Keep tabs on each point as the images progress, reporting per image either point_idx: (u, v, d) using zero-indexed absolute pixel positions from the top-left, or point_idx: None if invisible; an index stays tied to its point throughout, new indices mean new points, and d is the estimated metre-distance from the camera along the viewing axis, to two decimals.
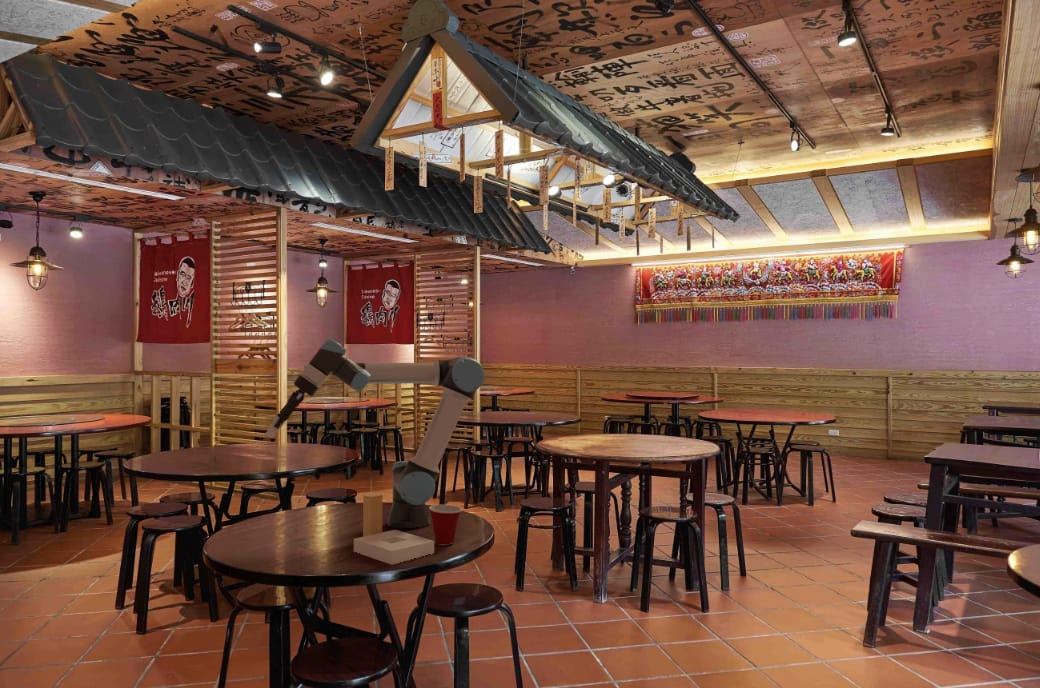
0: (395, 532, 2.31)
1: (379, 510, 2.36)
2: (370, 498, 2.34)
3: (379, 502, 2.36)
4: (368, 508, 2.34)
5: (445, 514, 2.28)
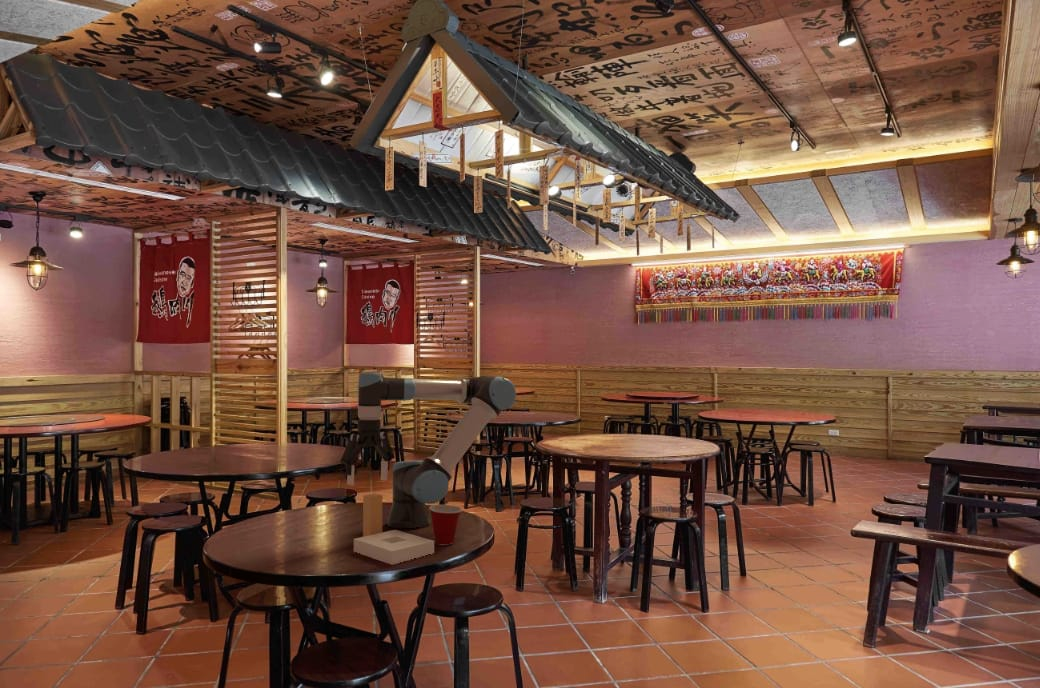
0: (395, 532, 2.31)
1: (379, 510, 2.36)
2: (370, 498, 2.34)
3: (379, 502, 2.36)
4: (368, 508, 2.34)
5: (445, 514, 2.28)
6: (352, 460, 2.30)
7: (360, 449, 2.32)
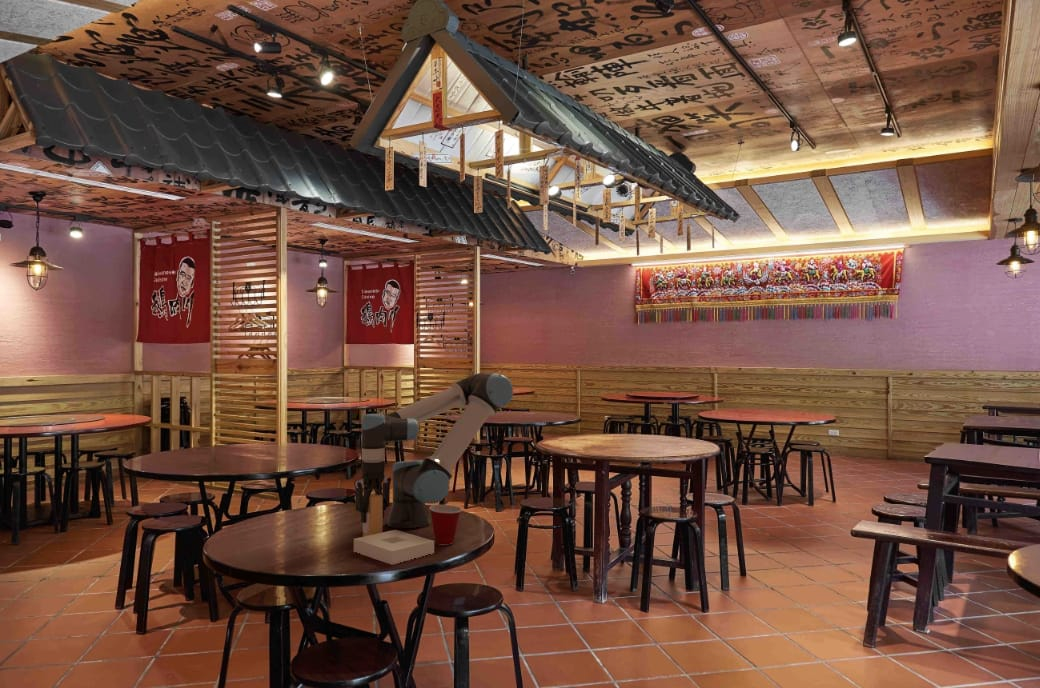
0: (395, 532, 2.31)
1: (379, 510, 2.36)
2: (370, 498, 2.34)
3: (379, 502, 2.36)
4: (368, 508, 2.34)
5: (445, 514, 2.28)
6: (366, 507, 2.33)
7: (369, 494, 2.34)
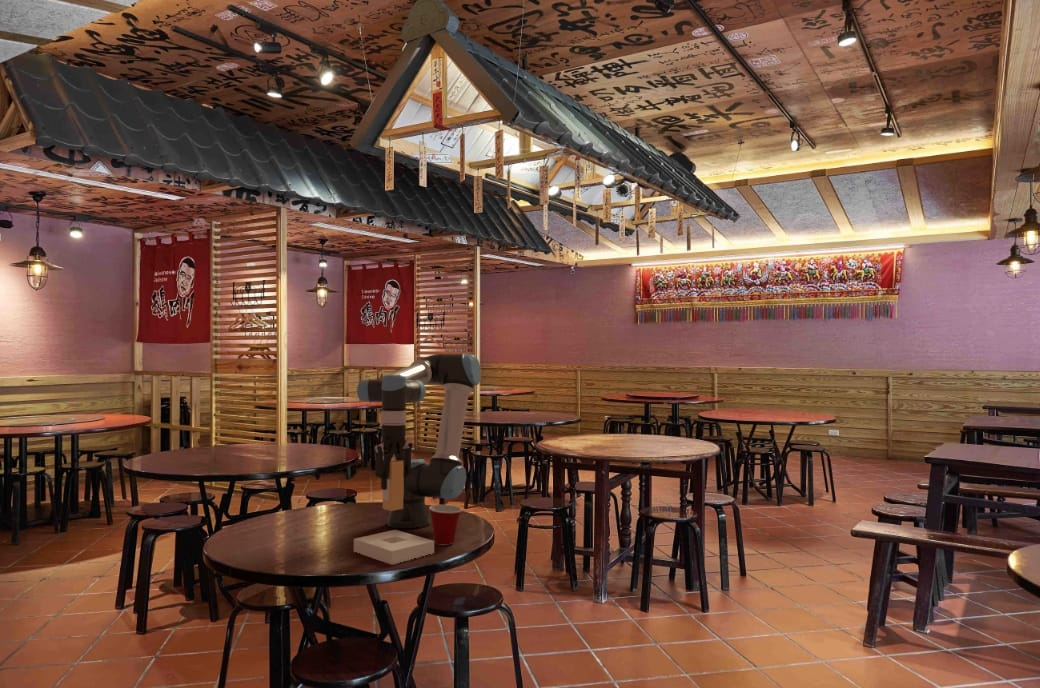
0: (395, 532, 2.31)
1: (400, 476, 2.21)
2: (390, 463, 2.19)
3: (400, 468, 2.21)
4: (388, 474, 2.20)
5: (445, 514, 2.28)
6: (386, 473, 2.19)
7: (389, 459, 2.20)
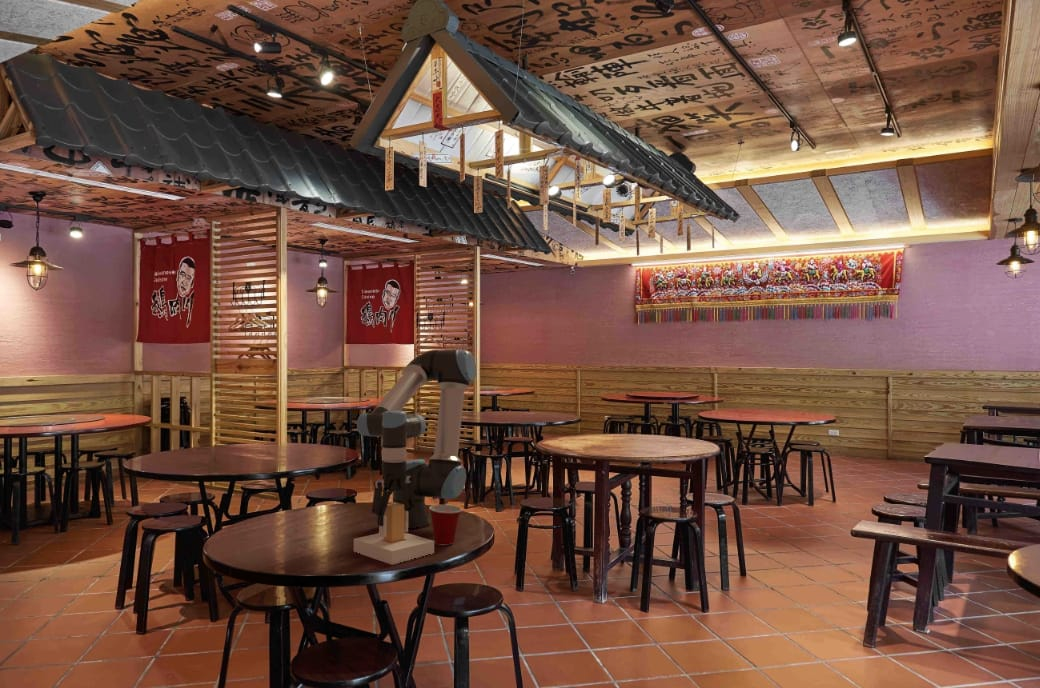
0: None
1: (401, 520, 2.21)
2: (391, 508, 2.19)
3: (401, 512, 2.21)
4: (389, 519, 2.20)
5: (445, 514, 2.28)
6: (383, 510, 2.17)
7: (388, 495, 2.19)
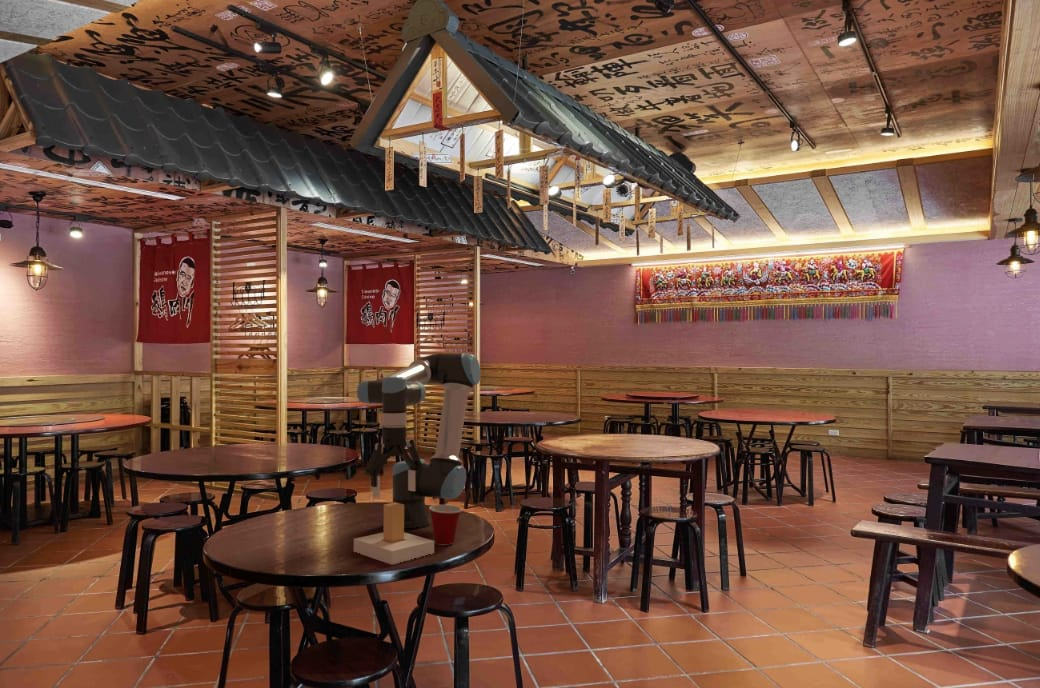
0: None
1: (401, 520, 2.21)
2: (391, 508, 2.19)
3: (401, 512, 2.21)
4: (389, 519, 2.20)
5: (445, 514, 2.28)
6: (377, 471, 2.16)
7: (385, 459, 2.18)
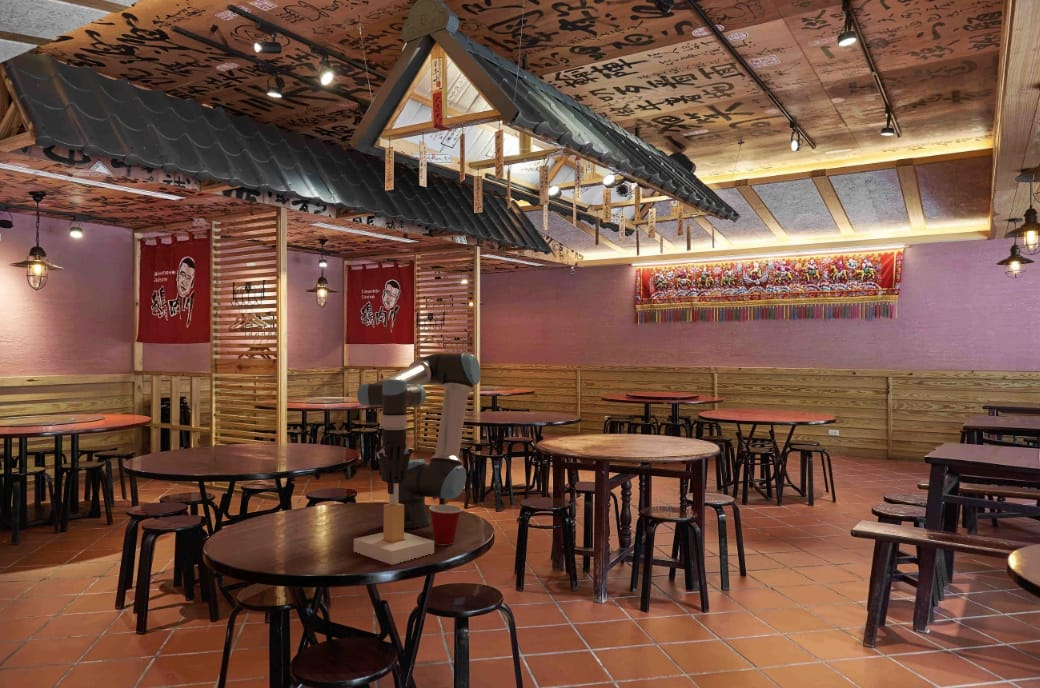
0: None
1: (401, 521, 2.21)
2: (391, 508, 2.19)
3: (401, 512, 2.21)
4: (389, 519, 2.20)
5: (445, 514, 2.28)
6: (392, 478, 2.20)
7: (393, 463, 2.20)
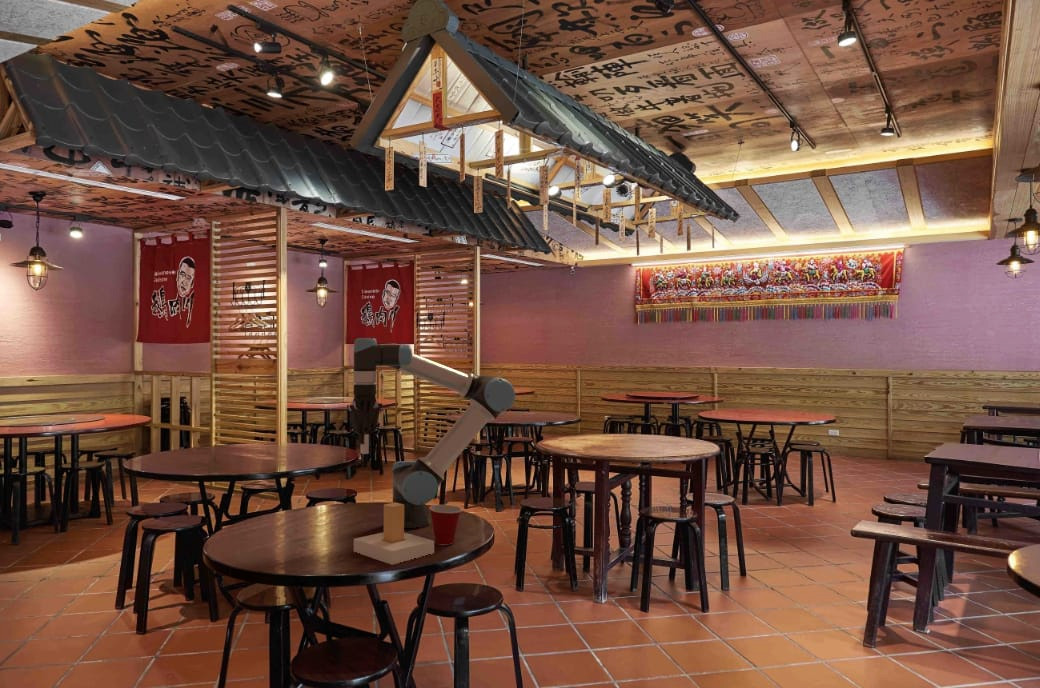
0: None
1: (401, 520, 2.21)
2: (391, 508, 2.19)
3: (401, 512, 2.21)
4: (389, 519, 2.20)
5: (445, 514, 2.28)
6: (363, 429, 2.38)
7: (363, 416, 2.38)
